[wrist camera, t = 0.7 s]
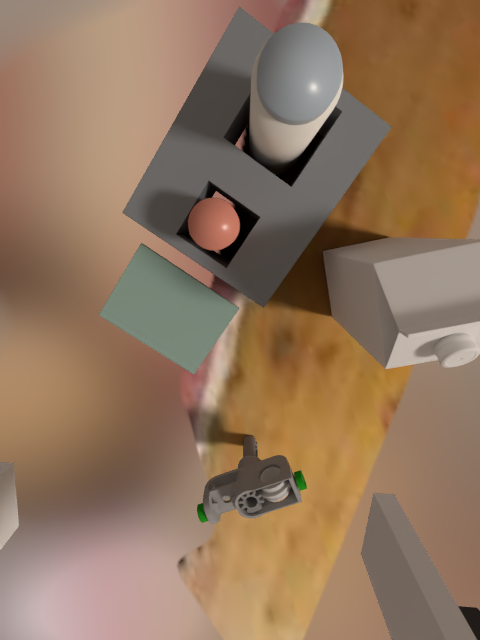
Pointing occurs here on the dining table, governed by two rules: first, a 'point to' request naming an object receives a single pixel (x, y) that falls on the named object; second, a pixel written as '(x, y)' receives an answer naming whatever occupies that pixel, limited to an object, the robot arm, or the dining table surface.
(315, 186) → the housing
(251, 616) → the dining table surface
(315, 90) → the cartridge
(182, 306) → the mat
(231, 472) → the mechanical component
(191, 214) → the pink egg shape
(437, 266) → the milk carton
